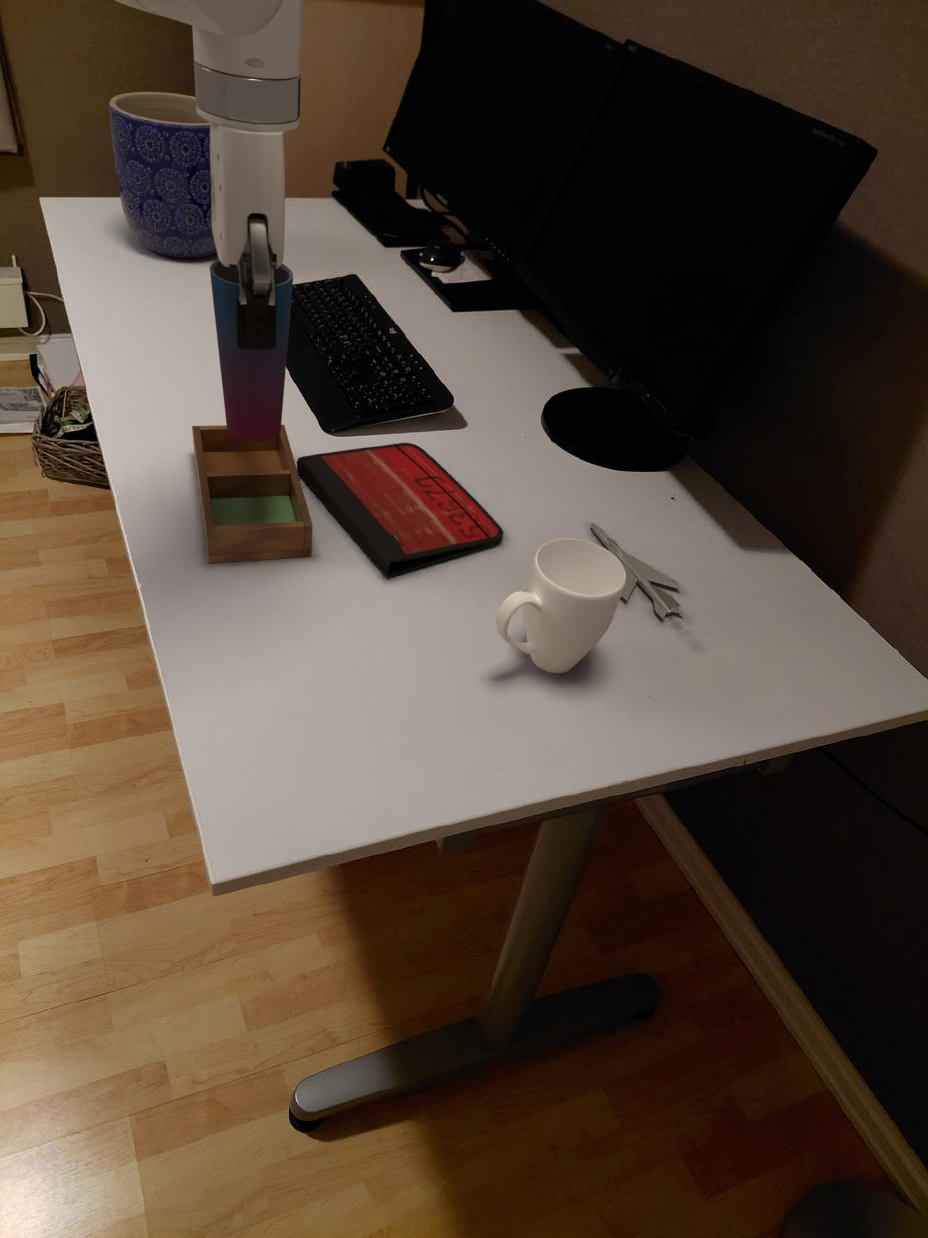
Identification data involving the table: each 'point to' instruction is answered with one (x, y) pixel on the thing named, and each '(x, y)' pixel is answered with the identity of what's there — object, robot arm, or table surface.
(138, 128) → the planter
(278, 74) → the robot arm
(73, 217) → the table surface
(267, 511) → the wooden compartment tray
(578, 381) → the table surface
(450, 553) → the binder
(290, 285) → the cup
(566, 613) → the mug
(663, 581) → the toy airplane
